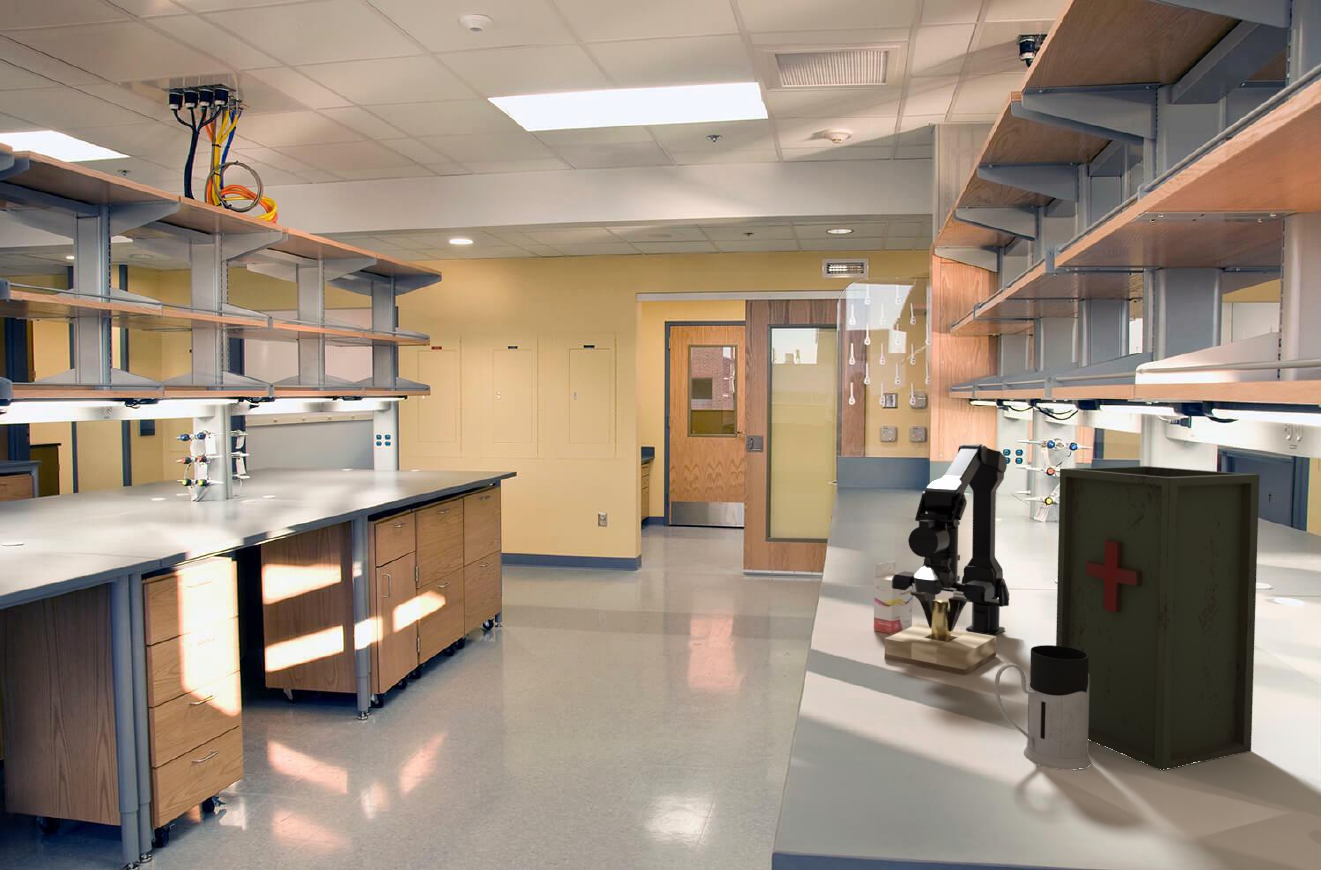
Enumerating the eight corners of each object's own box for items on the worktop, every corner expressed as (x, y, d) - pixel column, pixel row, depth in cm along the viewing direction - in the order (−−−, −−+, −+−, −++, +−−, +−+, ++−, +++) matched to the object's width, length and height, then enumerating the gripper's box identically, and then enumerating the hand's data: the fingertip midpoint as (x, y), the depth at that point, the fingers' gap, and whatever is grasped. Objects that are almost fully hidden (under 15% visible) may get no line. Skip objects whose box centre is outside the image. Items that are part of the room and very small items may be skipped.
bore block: (918, 642, 189) (919, 623, 189) (995, 656, 179) (996, 636, 179) (884, 658, 177) (884, 638, 177) (965, 674, 167) (965, 653, 167)
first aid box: (1054, 726, 141) (1059, 468, 139) (1138, 710, 148) (1145, 465, 146) (1161, 770, 124) (1169, 478, 122) (1251, 751, 131) (1259, 474, 129)
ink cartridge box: (892, 634, 196) (893, 566, 195) (872, 630, 199) (873, 563, 199) (913, 627, 202) (914, 562, 201) (893, 623, 205) (894, 559, 205)
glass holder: (1105, 767, 125) (1108, 659, 124) (1012, 775, 122) (1015, 664, 121) (1064, 743, 133) (1066, 642, 133) (977, 750, 130) (978, 647, 130)
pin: (935, 643, 180) (936, 598, 180) (953, 646, 178) (954, 601, 178) (928, 647, 178) (928, 601, 177) (945, 650, 175) (946, 604, 175)
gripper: (879, 550, 177) (878, 629, 178) (974, 561, 165) (972, 646, 166) (904, 543, 186) (903, 619, 186) (996, 553, 174) (994, 634, 174)
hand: (941, 629), depth 178 cm, fingers closed on pin, 4 cm apart
